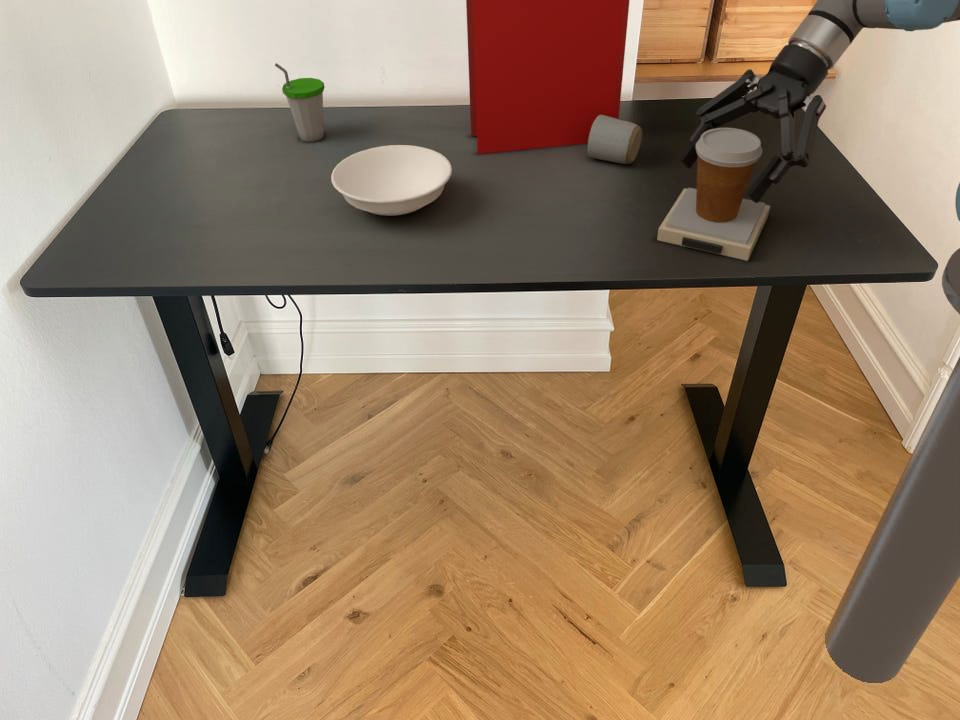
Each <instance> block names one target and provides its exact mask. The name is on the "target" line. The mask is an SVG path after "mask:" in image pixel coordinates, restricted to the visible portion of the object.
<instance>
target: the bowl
mask: <svg viewBox="0 0 960 720" xmlns="http://www.w3.org/2000/svg"><path fill="white" fill-rule="evenodd" d="M452 172H453V167H452V165H451V162H450V161H449V159H448V158H447V157H445V156H444V155H443V154H442V153H440V152H438V151H436V150H434V149H430V148H428V147H423V146H419V145H410V144H409V145H408V144H391V145H381V146H376V147H371V148H367V149H364V150H360V151H358V152H355V153H353V154H350V155H349V156H347V157H345V158H343V159H342V160H341V161H340V162H339V163H337V164H336V166H335V167H334V168H333V170H332V173H331V176H330V179H331V184H332V185H333V187H334V188H335V190H337V191H338V192H339V193H340V194H342V196H343V198H344V200H345V201H346V202H347V203H348V204H349V205H350V206H352V207H354V208H355V209H358V210H361V211H365V212H368V213H371V214H373V215H379V216H386V217H387V216H393V217H394V216H401V215H406V214H410V213H413V212H416V211H419V210H421V209H422V208H423V207H425V206H427V205H429V204H431V203H433V202H434V201H435V200H437V199H438V198H439V197H440V196H441V195H442V194H443V191H444V189H445V185H446V183H448V181H449V180H450V178H451V177H452V175H453V174H452Z"/></svg>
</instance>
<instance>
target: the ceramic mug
mask: <svg viewBox="0 0 960 720" xmlns="http://www.w3.org/2000/svg"><path fill="white" fill-rule="evenodd" d="M642 137H643V130H642V128H641V126H640V125H638V124H636V123H634V122H631V121H627V120H623V119H616V118H612V117H608V116H605V115H599V116H598V117H597V118H596V119H595V121H594V123H593V125H592V127H591V131H590V134H589V139H588V143H587V155H588V157H589V158H590V159H591V158H592V159H596V160H601V161H605V162H612V163H616V164H621V165H630V164H633V162H634V161H635V160H636V158H637V156H638V154H639V151H640V147H641V144H642Z"/></svg>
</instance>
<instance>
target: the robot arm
mask: <svg viewBox="0 0 960 720" xmlns="http://www.w3.org/2000/svg"><path fill="white" fill-rule="evenodd" d="M956 21H960V0H817V1H816V2H815V4H814V5H813V6H812V8H811V9H810V10H809V12H808V13H807V15H806V17H804V19H803V20H802V21H801V23H800V24H799V25H798V27H797V28H796V29H795V30H794V32H793V33H792V35H791V36H790V37H789V39H788V41H787V43H788V44H785V45H784V46H783V47H782V48H781V50H780V51H779V53H778V54H777V55H776V57H775V58H774V60H772V62H771V64H770V66H769V69H768V71H767V73H766V74H765V75H764V76H762V77H761V76H758V75H756V74H755V72H754V71H753V70H752V69H751V68H750V69H749V68H748V69H747V70H746V71H745V72H743V74H742V75H741V76H740V77H739V79H738V80H736V81H735V82H734V83H732V84H731V85H729V86H728V87H727V88H725V89H724V90H723V91H721V92H720V93H718V94H717V95H715V96H714V97H713V98H711V99H709V100H708V101H707V102H706V103H704V104H703V105H701V106H699V107H698V108H697V109H696V111H695V113H696V116H697V117H698V118H699V120H700V124H699V125H698V126H697V128H696V129H695V131H694V132H693V133H692V134H691V136H690V138H689V141H690V143H689V144H688V146H687V147H686V149H685V150H684V151H683V153H681V156H680V157H679V158H678V159H679V161H680V162H681V164H683V165H684V167H686V168H688V169H689V170H690V169H691V168H692V166H693V165H694V164H695V163H696V161H698V154H697V151H696V143H697V142H698V140H699V139H700V137H701V135H702V134H703V133H704V132H706V131H708V130H711V129H716V128H720V127H721V126H724V125H726V124H728V123H731V122H733V121H734V120H737V119H739V118H742V117H743V116H745V115H748V114H750V113H753V114H754V113H757V112H760V113H762V114H764V115H769V116H771V117H772V118H774V119H776V120H779V119H780V139H781V140H780V144H781V145H780V146H781V148H780V149H781V152H780V153H779V155H780V156H779V155H777V154H775V155H774V156H773V157H772V159H770V161H769V163H768V164H767V165H766V167H765V168H764V169H763V171H762V172H761V174H760V175H759V176H758V178H756V180H755V182H754V183H753V184H752V185H751V186H750V188H749V190H747V192H746V195H747V196H748V198H750V200H752V201H753V202H755V203H758V202H760V201H761V199H762V198H763V197H764V195H765V194H766V193H767V191H768V190H769V189H770V187H771V186H772V184H774V185H775V186H776V185H777V184H779V183H780V182H781V180H782V179H783V178H784V176H785V175H786V174H787V173H788V171H789V170H790V169H791V168H792V167H794V166H800V167H801V168H806V167H808V166H809V165H810V161H811V157H812V152H813V147H814V143H815V139H816V134H817V130H818V126H819V121H820V118H821V117H822V115H823V113H824V112H825V110H826V108H827V104H826V103H825V101H824V99H823V98H822V96H821V95H820V94H816V95H814V96H811V95H813V94H814V93H815V92H816V91H817V90H818V88H819V87H820V86H821V84H822V83H823V82H824V80H825V79H826V78H827V76H828V74H829V71H830V70H832V69H833V68H834V67H835V66H836V64H837V62H838V61H839V60H840V58H841V57H842V56H843V55H844V54H845V52H846V51H847V50H848V48H849V47H850V46H851V44H852V43H853V41H854V40H855V39H856V37H857V36H858V35H859V34H860V32H861V31H862V30H863V29H885V30H902V31H905V32H914V31H924V30H925V31H927V30H932V29H936V28H938V27H940V26H941V25H942V24H946V23H952V22H956ZM754 100H755V101H754ZM802 108H804V116H803V119H802V123H801V127H800V133H799V135H798V141H797V144H796V136H795V135H796V131H795V124H796V111H799V110H801V109H802ZM796 145H797V147H796ZM955 212H956V213H955V214H956V216H957V217H956V218H957V220H958V221H959V222H960V182H959V183H958V186H957V189H956V193H955Z"/></svg>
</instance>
